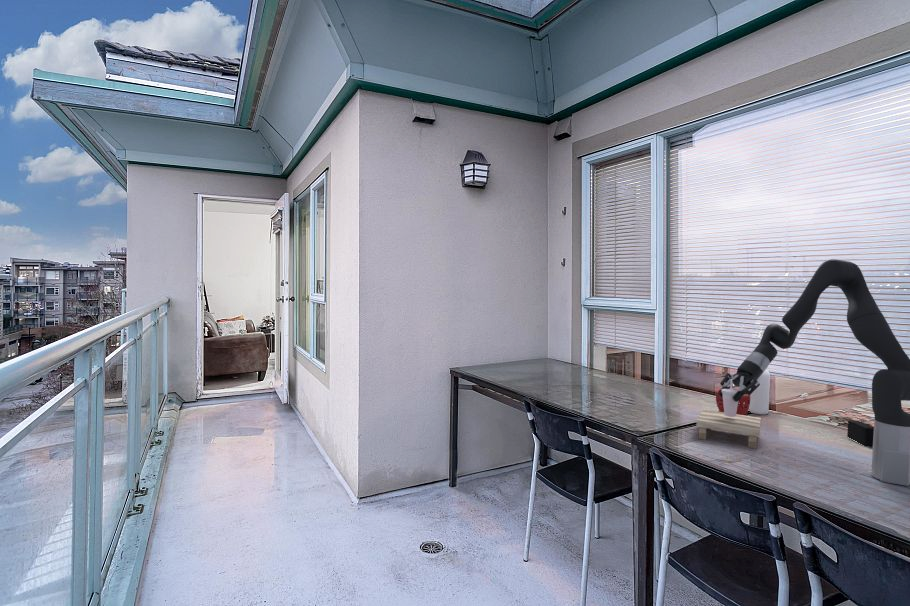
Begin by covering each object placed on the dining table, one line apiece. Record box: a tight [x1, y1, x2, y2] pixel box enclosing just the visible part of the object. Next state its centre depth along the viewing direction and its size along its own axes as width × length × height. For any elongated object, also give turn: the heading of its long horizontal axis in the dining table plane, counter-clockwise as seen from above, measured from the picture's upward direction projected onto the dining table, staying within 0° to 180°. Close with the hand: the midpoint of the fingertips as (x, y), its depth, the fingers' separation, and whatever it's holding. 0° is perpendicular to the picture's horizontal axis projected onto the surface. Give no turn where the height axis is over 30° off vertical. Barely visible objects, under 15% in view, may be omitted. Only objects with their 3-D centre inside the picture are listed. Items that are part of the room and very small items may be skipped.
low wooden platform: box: [696, 409, 762, 449], centre depth 184 cm, size 20×20×7 cm
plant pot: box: [715, 388, 750, 416], centre depth 212 cm, size 13×13×12 cm
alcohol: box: [747, 368, 771, 416], centre depth 223 cm, size 9×9×30 cm
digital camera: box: [846, 420, 874, 448], centre depth 181 cm, size 10×5×7 cm, turn 170°
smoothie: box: [721, 379, 739, 417], centre depth 183 cm, size 6×6×14 cm
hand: (727, 397), depth 183 cm, fingers closed on smoothie, 6 cm apart
